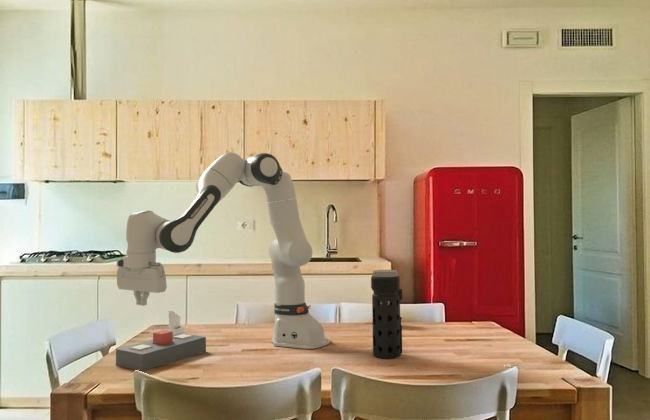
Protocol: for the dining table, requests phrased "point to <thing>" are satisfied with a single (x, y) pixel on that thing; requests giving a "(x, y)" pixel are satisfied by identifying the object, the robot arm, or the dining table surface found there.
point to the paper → (504, 365)
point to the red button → (162, 337)
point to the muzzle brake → (386, 314)
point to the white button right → (182, 336)
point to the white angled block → (175, 323)
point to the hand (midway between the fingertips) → (141, 305)
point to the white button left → (141, 347)
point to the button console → (160, 352)
